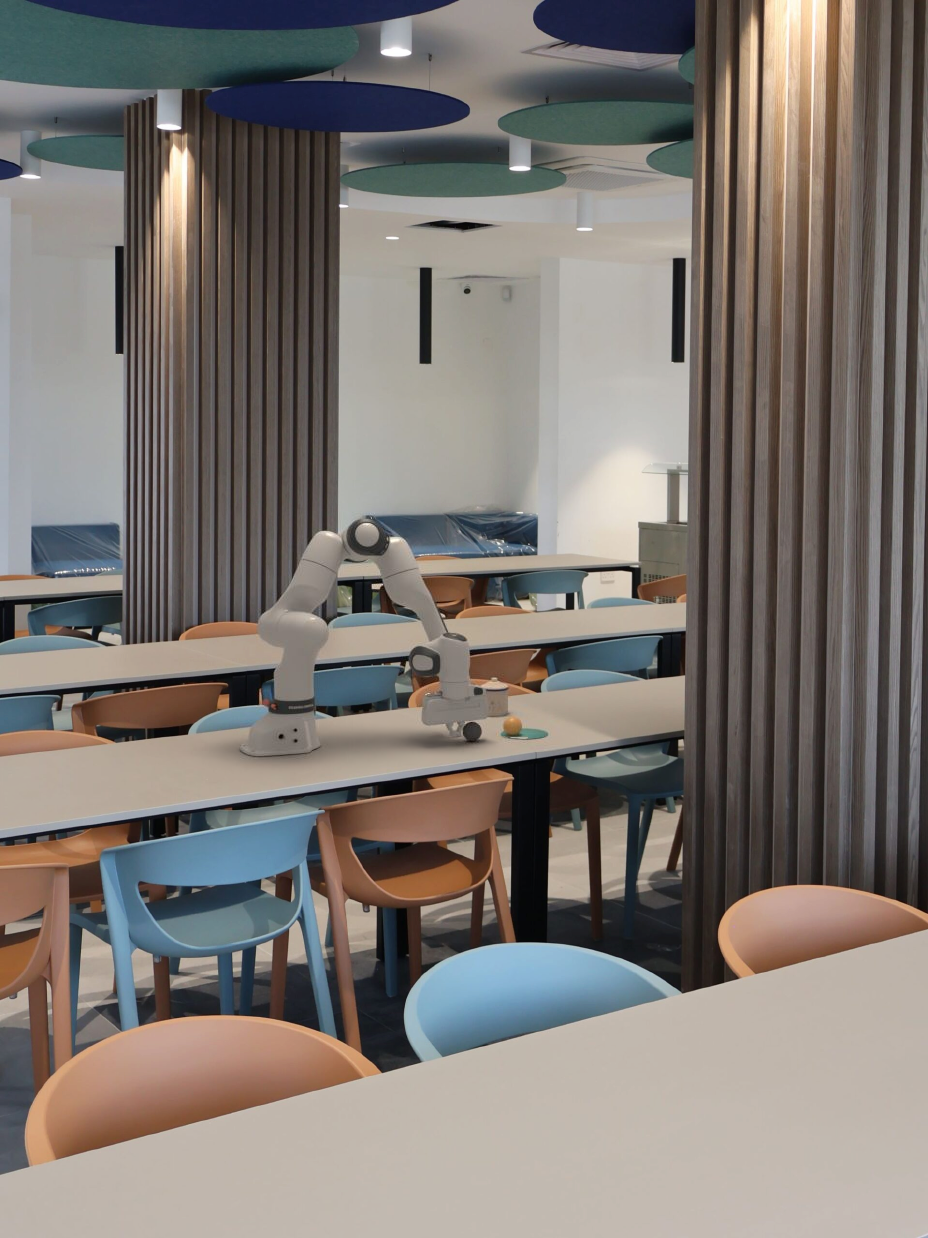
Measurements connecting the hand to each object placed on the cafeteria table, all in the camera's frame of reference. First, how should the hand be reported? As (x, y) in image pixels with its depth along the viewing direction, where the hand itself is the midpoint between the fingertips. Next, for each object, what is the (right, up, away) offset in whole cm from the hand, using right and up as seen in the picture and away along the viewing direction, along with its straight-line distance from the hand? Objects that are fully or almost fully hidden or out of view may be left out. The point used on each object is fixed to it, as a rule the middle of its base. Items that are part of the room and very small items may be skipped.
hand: (455, 737), depth 366 cm
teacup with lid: (+11, +3, +39) cm, 41 cm away
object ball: (+17, +2, +9) cm, 19 cm away
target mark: (+20, 0, +11) cm, 23 cm away
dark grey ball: (+5, +1, +2) cm, 6 cm away
